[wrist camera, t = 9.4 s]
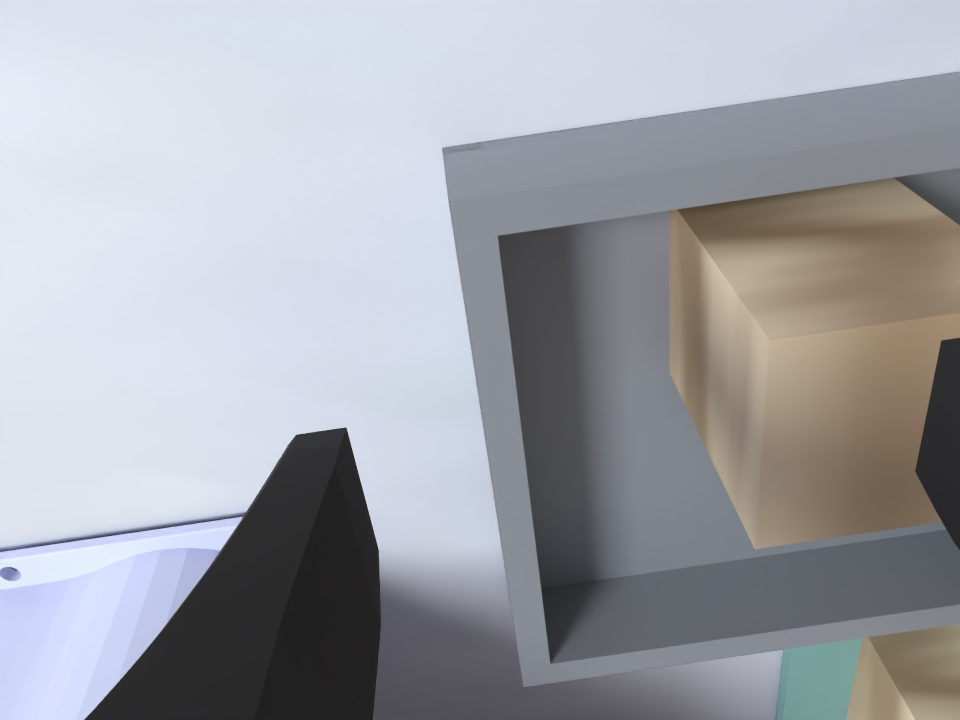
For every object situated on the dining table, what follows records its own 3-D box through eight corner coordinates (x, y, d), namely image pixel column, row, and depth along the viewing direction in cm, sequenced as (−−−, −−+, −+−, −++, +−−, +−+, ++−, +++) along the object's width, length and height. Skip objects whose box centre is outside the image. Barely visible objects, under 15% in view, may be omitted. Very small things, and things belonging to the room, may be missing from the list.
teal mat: (772, 755, 31) (777, 768, 30) (790, 583, 26) (796, 595, 25) (1018, 719, 31) (1026, 731, 30) (1082, 540, 26) (1093, 552, 25)
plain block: (669, 373, 21) (754, 549, 16) (668, 198, 18) (769, 340, 13) (854, 346, 21) (999, 513, 16) (879, 167, 18) (1059, 297, 13)
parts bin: (511, 601, 25) (523, 687, 23) (441, 147, 18) (448, 201, 15) (975, 533, 25) (1038, 612, 23) (1102, 50, 18) (1218, 88, 15)
